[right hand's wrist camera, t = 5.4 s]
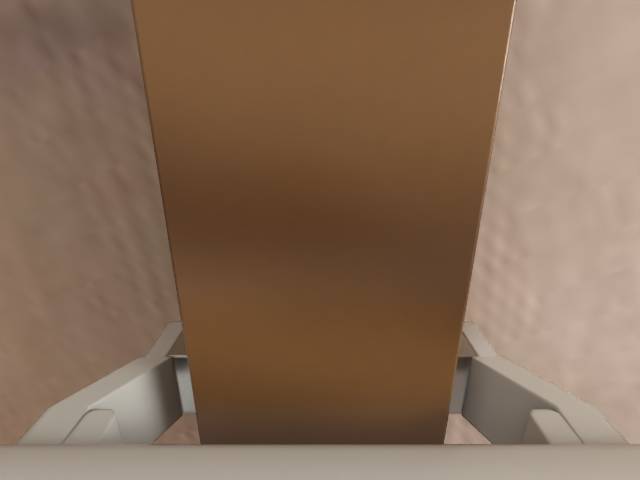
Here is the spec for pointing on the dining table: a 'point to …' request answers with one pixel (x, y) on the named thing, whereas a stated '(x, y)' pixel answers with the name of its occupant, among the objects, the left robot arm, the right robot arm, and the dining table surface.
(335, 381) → the post
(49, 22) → the dining table surface
